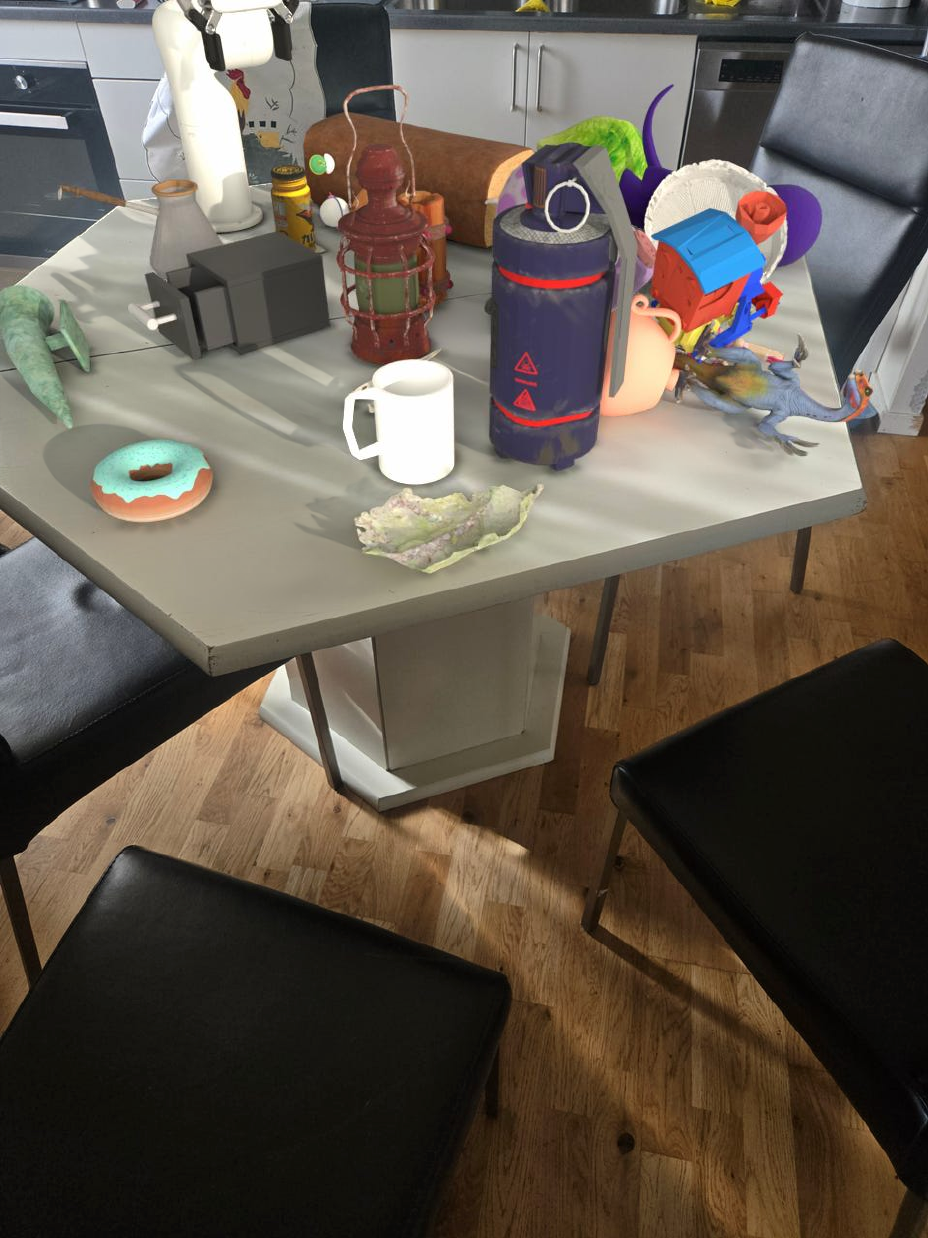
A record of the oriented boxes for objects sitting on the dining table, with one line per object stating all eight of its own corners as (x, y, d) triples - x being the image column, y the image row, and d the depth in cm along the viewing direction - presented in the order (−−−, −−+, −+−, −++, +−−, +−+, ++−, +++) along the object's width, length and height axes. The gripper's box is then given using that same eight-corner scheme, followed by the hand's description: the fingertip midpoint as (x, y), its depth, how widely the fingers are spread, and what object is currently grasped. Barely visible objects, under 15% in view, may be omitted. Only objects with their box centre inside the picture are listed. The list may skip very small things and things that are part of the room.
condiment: (326, 251, 142) (317, 170, 134) (277, 262, 139) (265, 180, 131) (306, 237, 147) (296, 158, 139) (258, 248, 143) (245, 167, 135)
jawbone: (377, 415, 104) (376, 399, 103) (345, 405, 106) (343, 390, 105) (456, 363, 116) (456, 348, 115) (425, 356, 118) (425, 341, 117)
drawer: (164, 369, 111) (149, 308, 106) (130, 340, 117) (114, 281, 112) (280, 333, 119) (271, 274, 113) (242, 307, 125) (233, 250, 119)
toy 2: (626, 137, 130) (540, 81, 104) (709, 269, 128) (642, 245, 103) (537, 219, 139) (438, 186, 114) (613, 343, 138) (531, 338, 112)
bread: (362, 183, 167) (356, 102, 158) (538, 225, 150) (542, 137, 141) (305, 205, 158) (295, 121, 149) (485, 253, 141) (487, 161, 132)
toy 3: (602, 222, 132) (811, 252, 123) (643, 49, 127) (863, 68, 119) (624, 258, 151) (806, 286, 143) (660, 110, 147) (850, 130, 138)
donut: (212, 525, 89) (204, 492, 86) (87, 534, 87) (75, 500, 85) (219, 461, 97) (213, 429, 95) (106, 468, 96) (96, 436, 93)
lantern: (367, 376, 111) (345, 105, 91) (330, 338, 119) (301, 80, 99) (453, 354, 115) (450, 90, 95) (412, 319, 123) (401, 68, 103)
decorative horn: (60, 401, 97) (63, 268, 116) (-37, 431, 97) (-18, 292, 116) (91, 449, 103) (89, 314, 122) (-1, 477, 102) (12, 338, 121)
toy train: (630, 318, 107) (653, 214, 93) (737, 267, 110) (774, 158, 96) (682, 376, 103) (713, 277, 89) (790, 321, 106) (837, 217, 93)
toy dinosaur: (759, 324, 87) (922, 378, 93) (682, 284, 106) (821, 332, 111) (709, 433, 92) (866, 479, 98) (644, 377, 111) (779, 418, 116)
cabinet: (240, 354, 116) (227, 281, 110) (200, 324, 123) (185, 253, 116) (330, 326, 122) (322, 255, 116) (287, 299, 129) (277, 230, 122)
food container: (667, 312, 123) (655, 331, 130) (805, 275, 123) (786, 296, 130) (627, 175, 123) (617, 200, 130) (764, 139, 124) (747, 166, 131)
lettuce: (533, 80, 145) (499, 178, 151) (652, 118, 136) (611, 221, 142) (571, 109, 157) (538, 199, 163) (683, 145, 149) (644, 239, 154)
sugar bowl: (570, 425, 100) (657, 451, 101) (615, 304, 91) (709, 334, 92) (574, 381, 110) (653, 406, 110) (615, 269, 101) (700, 296, 102)
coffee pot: (222, 257, 141) (203, 154, 130) (239, 284, 133) (220, 176, 123) (81, 279, 134) (50, 172, 124) (91, 309, 127) (58, 197, 116)
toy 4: (798, 334, 107) (682, 286, 108) (785, 368, 105) (667, 319, 106) (772, 372, 114) (664, 327, 115) (760, 405, 112) (649, 359, 113)
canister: (471, 459, 97) (472, 160, 77) (512, 409, 105) (522, 126, 85) (593, 488, 93) (628, 180, 73) (625, 433, 101) (665, 142, 81)
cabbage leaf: (548, 558, 88) (426, 541, 96) (550, 481, 86) (425, 470, 94) (459, 591, 76) (327, 568, 84) (459, 501, 74) (323, 487, 82)
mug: (462, 294, 130) (462, 184, 120) (443, 317, 124) (441, 203, 114) (370, 282, 133) (361, 174, 123) (347, 303, 128) (336, 192, 118)
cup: (334, 464, 97) (324, 379, 90) (433, 435, 101) (430, 352, 94) (365, 502, 92) (357, 415, 85) (468, 471, 96) (467, 385, 89)
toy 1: (329, 153, 149) (345, 145, 142) (348, 229, 154) (365, 225, 147) (298, 159, 147) (313, 152, 141) (318, 236, 152) (334, 233, 146)
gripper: (274, -112, 110) (293, 51, 121) (142, -105, 101) (176, 69, 113) (307, -110, 105) (324, 59, 117) (172, -102, 97) (204, 78, 109)
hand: (251, 64), depth 115 cm, fingers open, 9 cm apart
